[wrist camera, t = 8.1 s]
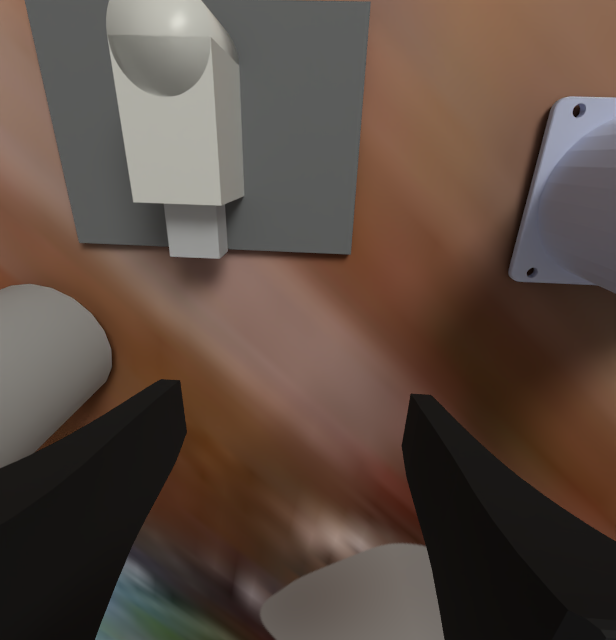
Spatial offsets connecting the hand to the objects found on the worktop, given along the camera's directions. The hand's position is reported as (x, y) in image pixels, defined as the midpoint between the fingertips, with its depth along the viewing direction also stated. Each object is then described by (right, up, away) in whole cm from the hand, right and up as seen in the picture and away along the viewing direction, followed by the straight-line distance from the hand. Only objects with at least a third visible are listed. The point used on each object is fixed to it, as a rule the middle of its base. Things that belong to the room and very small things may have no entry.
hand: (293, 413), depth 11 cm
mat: (-4, +11, +6) cm, 13 cm away
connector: (-4, +11, +5) cm, 13 cm away
